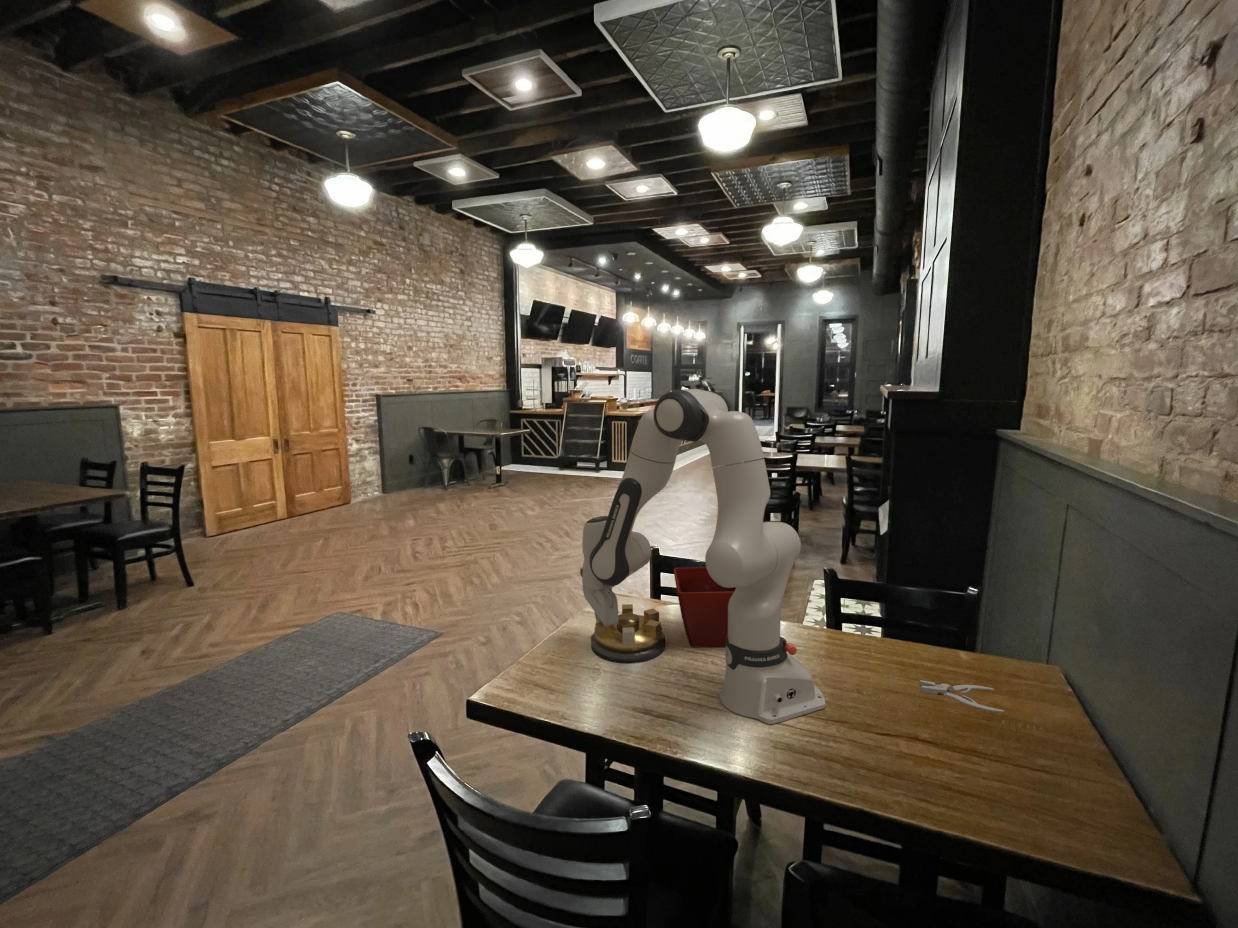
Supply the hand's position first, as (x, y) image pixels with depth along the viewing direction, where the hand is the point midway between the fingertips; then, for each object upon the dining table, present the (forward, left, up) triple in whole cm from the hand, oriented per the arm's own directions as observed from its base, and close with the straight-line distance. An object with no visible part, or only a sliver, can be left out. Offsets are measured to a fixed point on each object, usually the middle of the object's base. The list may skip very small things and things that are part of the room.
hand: (600, 627), depth 149 cm
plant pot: (-31, +1, -6) cm, 31 cm away
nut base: (-8, 0, -6) cm, 10 cm away
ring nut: (-8, 0, -4) cm, 8 cm away
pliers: (-73, +41, -7) cm, 84 cm away
